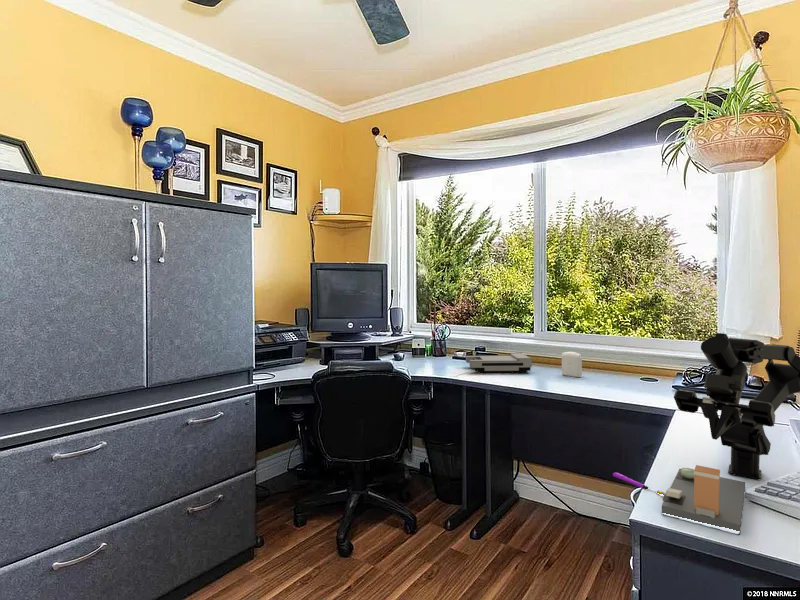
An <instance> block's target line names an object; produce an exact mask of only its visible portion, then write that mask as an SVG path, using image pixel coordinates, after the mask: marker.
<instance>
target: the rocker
mask: <svg viewBox="0 0 800 600" xmlns="http://www.w3.org/2000/svg"><path fill="white" fill-rule="evenodd" d="M665 493H666V496H670V497H675V498H680V497H681V496H682V491H680V490H676V489H672V488H670V487H668V488H667V489H666V491H665Z"/></svg>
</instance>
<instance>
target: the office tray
mask: <svg viewBox="0 0 800 600" xmlns="http://www.w3.org/2000/svg"><path fill="white" fill-rule="evenodd" d="M532 361H533V359H532V358H531V357H529V356H527V355H526V354H524V353H523V352H509V354H505V355H504V354H499V355H498V354H495V355H493V354H491V355H490V354H489V355H485V354H483V355H482V354H481V355H480V354H479V355H477V354H476V355H465V362H466V363H467V364H468V363H469V367H470V369H471V368H472V369H473V370H474V371H476V372H478V371H479V372H480V373H511V374H527V373H528V371H531V369H532V367H533V365H532V364H533V362H532ZM479 372H478V373H479ZM480 373H479V374H480Z"/></svg>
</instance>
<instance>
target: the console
mask: <svg viewBox="0 0 800 600" xmlns="http://www.w3.org/2000/svg"><path fill="white" fill-rule="evenodd" d="M669 488H672V489H676V490H680V491H682V496H681V497H680V498H675V497H670V496H666V492H664V493H665V495H664V497H662V500H661V501H662V503H661V514H662V513H666V514H670V515H674V516H678V517H682V518H687V519H691V520H694V521H698V522H702V523H707V524H711V525H715V526H719V527H725V528H729V529H733V530H736V531H740V532H741V530H740V527H742V522H741V519H742V520H743V514H742V511H743V512H744V505H743V503H745V497H744V492H745V493H746V482H745V481H743V480H742V481H741V480H736V479H732V478H728V477H722V476H720V502H719V513H718V515H715V511H713V510H708V509H704V508H700V507H696V510H694V479H689V478H685V477H683V476H681V468H679V469H678V471H677V473H676V475H675V476H674V479H673V481H672V483H671V486H670V487H669Z"/></svg>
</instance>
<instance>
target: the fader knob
mask: <svg viewBox="0 0 800 600" xmlns="http://www.w3.org/2000/svg"><path fill="white" fill-rule="evenodd" d="M693 469H694V510H696V507H700V508H704V509H708V510H713V511H715V515H718V513H719V502H720V477H721V469H718V468H713V467H707V466H703V465H698V464H696V465H695V467H694V468H693Z"/></svg>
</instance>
